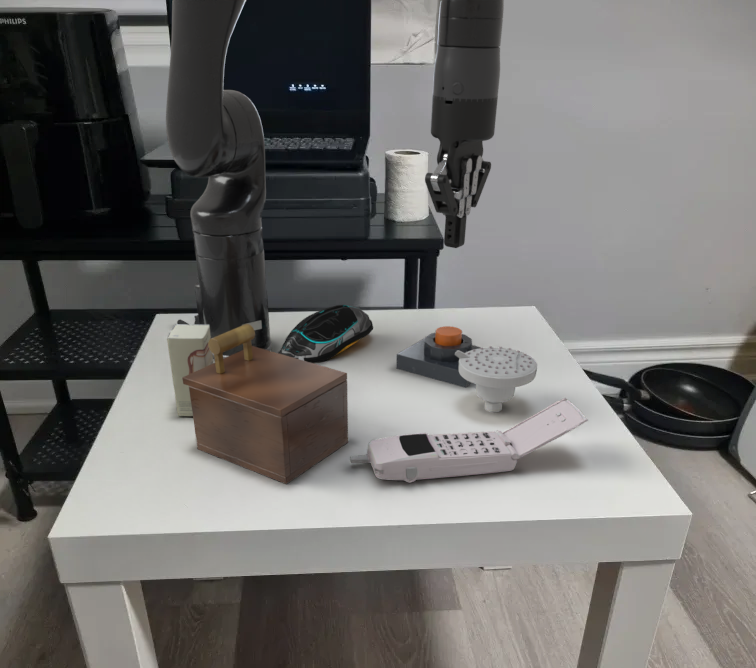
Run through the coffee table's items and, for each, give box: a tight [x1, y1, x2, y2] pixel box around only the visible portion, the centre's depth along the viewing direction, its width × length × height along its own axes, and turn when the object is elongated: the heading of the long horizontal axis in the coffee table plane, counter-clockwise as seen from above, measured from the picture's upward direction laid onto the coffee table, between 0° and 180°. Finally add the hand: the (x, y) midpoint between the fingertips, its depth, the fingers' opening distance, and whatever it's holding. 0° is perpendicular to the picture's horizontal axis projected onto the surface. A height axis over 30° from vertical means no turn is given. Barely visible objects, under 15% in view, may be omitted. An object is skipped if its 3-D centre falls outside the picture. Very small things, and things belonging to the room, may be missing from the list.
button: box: [434, 325, 463, 346], centre depth 102 cm, size 4×4×2 cm
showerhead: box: [455, 346, 538, 413], centre depth 92 cm, size 9×7×10 cm
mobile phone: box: [349, 397, 589, 484], centre depth 80 cm, size 6×6×25 cm
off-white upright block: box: [166, 323, 214, 417], centre depth 90 cm, size 5×4×10 cm
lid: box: [182, 324, 348, 417], centre depth 80 cm, size 14×11×5 cm
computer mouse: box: [277, 304, 374, 363], centre depth 108 cm, size 9×17×6 cm, turn 130°
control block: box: [395, 332, 482, 389], centre depth 103 cm, size 11×9×4 cm
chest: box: [189, 379, 349, 485], centre depth 83 cm, size 13×11×8 cm
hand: (453, 245), depth 96 cm, fingers closed
